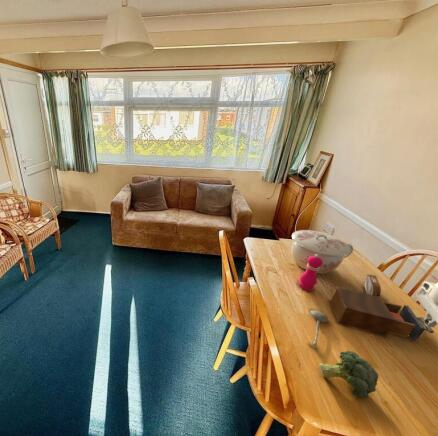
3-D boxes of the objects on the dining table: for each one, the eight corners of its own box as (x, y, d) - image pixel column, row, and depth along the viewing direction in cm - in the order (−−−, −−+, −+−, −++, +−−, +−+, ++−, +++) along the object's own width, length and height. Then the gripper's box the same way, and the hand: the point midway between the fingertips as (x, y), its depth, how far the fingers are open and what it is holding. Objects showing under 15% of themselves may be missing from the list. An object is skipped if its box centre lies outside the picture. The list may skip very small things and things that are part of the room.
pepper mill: (313, 284, 120) (325, 253, 111) (314, 293, 114) (327, 260, 106) (297, 280, 123) (308, 249, 115) (297, 288, 118) (309, 256, 109)
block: (395, 320, 97) (399, 314, 95) (399, 328, 93) (404, 321, 92) (382, 317, 98) (387, 310, 97) (387, 324, 95) (391, 318, 93)
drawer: (414, 321, 98) (422, 309, 94) (432, 346, 87) (442, 333, 84) (358, 307, 105) (364, 295, 102) (369, 328, 94) (376, 316, 91)
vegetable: (315, 346, 86) (367, 349, 78) (325, 387, 81) (382, 394, 73) (314, 352, 77) (373, 356, 69) (326, 398, 72) (391, 408, 64)
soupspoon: (327, 317, 102) (310, 310, 106) (329, 311, 100) (312, 305, 104) (323, 352, 86) (303, 343, 90) (326, 346, 85) (305, 336, 89)
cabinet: (371, 311, 104) (380, 296, 100) (385, 336, 92) (395, 320, 89) (330, 301, 109) (337, 286, 106) (338, 323, 98) (346, 307, 94)
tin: (376, 304, 108) (384, 290, 104) (367, 301, 109) (375, 288, 105) (369, 285, 119) (376, 272, 116) (361, 283, 121) (367, 270, 117)
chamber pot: (277, 264, 136) (286, 234, 127) (293, 247, 152) (302, 219, 144) (334, 289, 117) (349, 255, 108) (345, 266, 134) (359, 236, 125)
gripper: (483, 322, 75) (458, 349, 81) (442, 283, 91) (424, 308, 97) (456, 315, 77) (434, 343, 83) (421, 279, 94) (404, 303, 100)
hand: (428, 324), depth 90 cm, fingers closed
